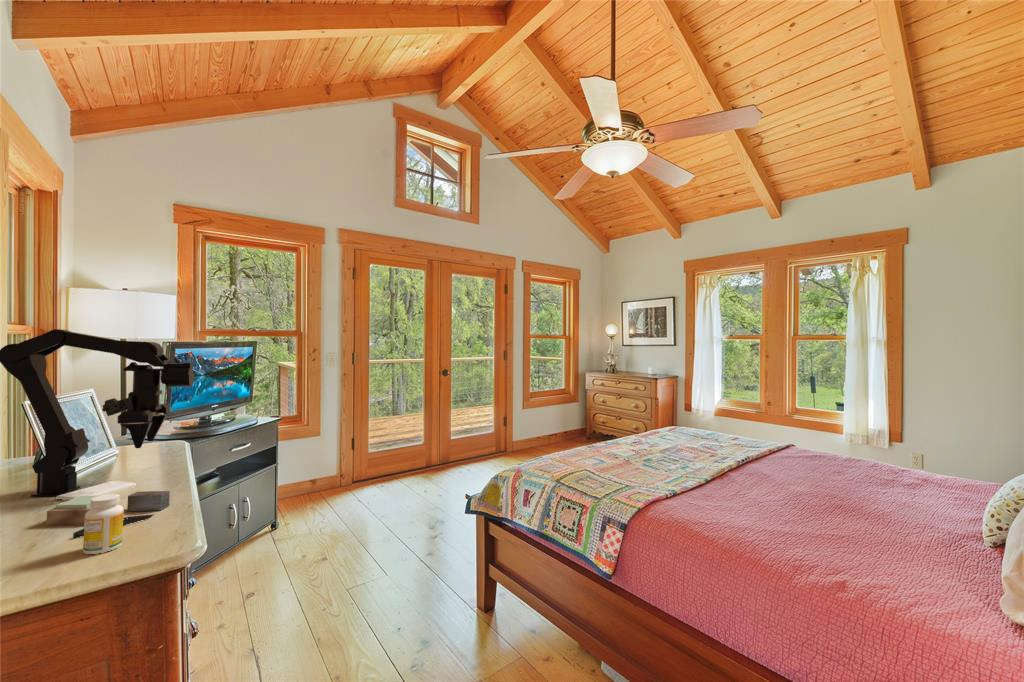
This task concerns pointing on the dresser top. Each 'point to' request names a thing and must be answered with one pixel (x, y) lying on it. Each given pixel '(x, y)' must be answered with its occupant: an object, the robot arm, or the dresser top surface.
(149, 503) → the dark gray rectangular block
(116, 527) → the supplement bottle
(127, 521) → the folding knife
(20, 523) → the dresser top surface
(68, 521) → the frame
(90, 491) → the external hard drive
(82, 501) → the sage block
